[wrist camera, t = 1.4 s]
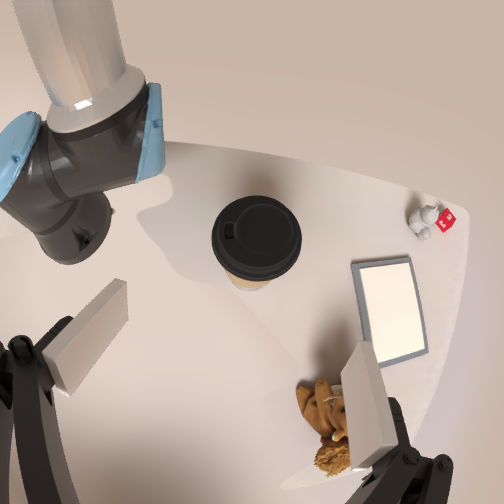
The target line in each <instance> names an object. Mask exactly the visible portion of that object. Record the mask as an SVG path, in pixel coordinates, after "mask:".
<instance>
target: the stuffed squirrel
mask: <svg viewBox="0 0 504 504" xmlns="http://www.w3.org/2000/svg"><path fill="white" fill-rule="evenodd" d="M296 395H297V400H298V403H299V407H300V410H301V413H302V415H303V417H304V418H305V419H306V420H307V421H308V423H309V424H310V425H311V426H312V427H313V428H314V429H315V430H316V431H317V432H318V433H319V434H320V435H322V436H321V440H320V441H321V443H322V445H323V446H322V447H321V448H320V449H319V450H318V452H317V454H316V456H315V458H316V459H315V460H314V462H315V464H314V465H316V467H319V468H320V470H321V469H322V470H324V471H327V472H328V474H327V475H326V476H327V477H329V476H330V475H331V476H332V475H334V474H335V475H337V474H338V473H341V471H344V470H345V469H346V468H347V467H349V466H350V465H351V462H350V450H349V440H348V430H347V420H346V412H345V404H344V396H343V388H342V383H341V384H340V385H333V386H330V384H329V382H328V381H327V380H326V379H319V380H318V381H317V382H316V384H315V389H312V388H309V387H305V386H299V387H298V389H297V390H296Z"/></svg>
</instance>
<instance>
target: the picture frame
mask: <svg viewBox="0 0 504 504" xmlns="http://www.w3.org/2000/svg"><path fill="white" fill-rule="evenodd" d="M350 266H351V270H352V275H353V280H354V286H355V291H356V296H357V302H358V307H359V313H360V319H361V326H362V332H363V339H364V341H366V342H372V345H373V349H374V352H375V355H376V358H377V362H378V365H379V368H383V367H387V366H390V365H393V364H397V363H400V362H403V361H406V360H409V359H412V358H415V357H418V356H421V355H423V354H426V353H429V352H428V344H427V336H426V330H425V323H424V317H423V312H422V306H421V301H420V296H419V291H418V286H417V282H416V277H415V273H414V269H413V265H412V261H411V257H408V258H400V259H391V260H383V261H374V262H366V263H357V264H352V265H350Z"/></svg>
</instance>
